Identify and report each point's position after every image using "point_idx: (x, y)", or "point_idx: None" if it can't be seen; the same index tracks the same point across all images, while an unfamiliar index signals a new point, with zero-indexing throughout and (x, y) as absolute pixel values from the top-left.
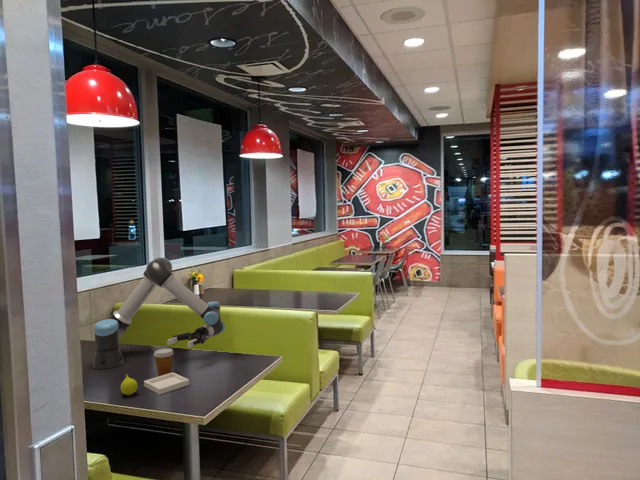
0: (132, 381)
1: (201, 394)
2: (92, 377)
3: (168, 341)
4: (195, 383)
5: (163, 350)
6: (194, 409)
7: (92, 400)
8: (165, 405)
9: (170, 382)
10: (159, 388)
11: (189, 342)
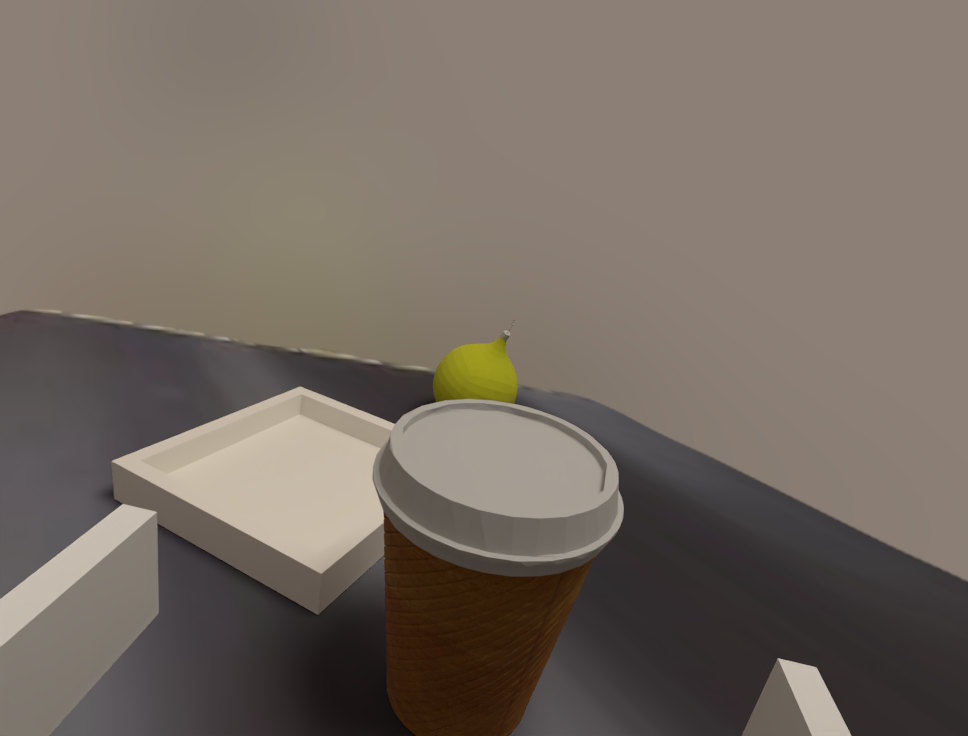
0: (454, 350)
1: (13, 407)
2: (935, 577)
3: (768, 688)
4: (52, 518)
5: (533, 478)
6: (68, 333)
7: (581, 398)
8: (223, 358)
9: (284, 494)
10: (303, 391)
11: (103, 526)
